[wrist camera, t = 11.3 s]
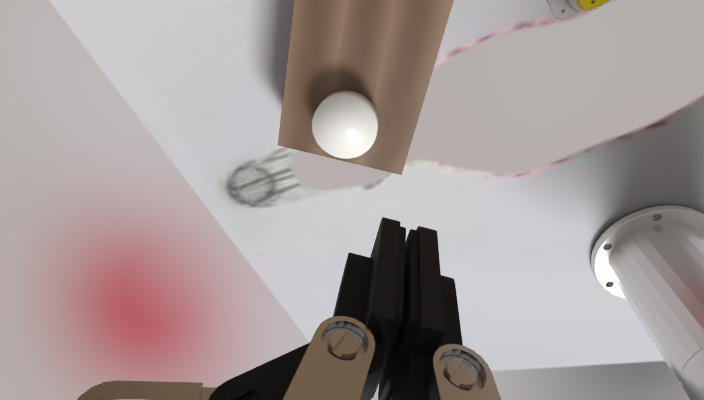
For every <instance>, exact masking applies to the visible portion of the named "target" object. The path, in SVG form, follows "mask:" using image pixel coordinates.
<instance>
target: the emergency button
mask: <svg viewBox="0 0 704 400" xmlns="http://www.w3.org/2000/svg"><path fill="white" fill-rule="evenodd" d="M607 1H609V0H547V2H548V5H549V7H550V9H551V12H552V14H553V15H554V16H555V17H556V18H559V19H565V18H568V17H570V16H572V15H574V14H576V13H577V12H579V11H581V10H591V9H595V8H597V7H599V6H601V5H602V4H604V3H606V2H607Z"/></svg>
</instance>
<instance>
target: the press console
mask: <svg viewBox="0 0 704 400" xmlns="http://www.w3.org/2000/svg"><path fill="white" fill-rule="evenodd" d="M453 1H454V0H294V8H293V17H292V26H291V34H290V43H289V52H288V60H287V69H286V78H285V87H284V95H283V104H282V113H281V121H280V130H279V139H278V145H279V146H283V147H288V148H292V149H296V150H300V151H304V152H309V153H313V154H317V155H321V156H325V157H329V158H334V159H338V160H342V161H346V162H350V163H354V164H359V165H363V166H367V167H371V168H375V169H379V170H383V171H387V172H392V173H396V174H400V175H402V171H403V168H404V165H405V161H406V158H407V155H408V151H409V147H410V144H411V141H412V138H413V134H414V131H415V128H416V124H417V121H418V118H419V114H420V111H421V108H422V104H423V101H424V98H425V94H426V91H427V87H428V84H429V81H430V78H431V74H432V71H433V68H434V64H435V61H436V57H437V54H438V51H439V47H440V44H441V41H442V37H443V34H444V31H445V27H446V24H447V21H448V17H449V14H450V11H451V7H452V4H453ZM344 90H347V91H354V92H357V93H359V94H361V95H363V96H365V97H366V98H367V99H368V100H369V101H370V102H371V103H372V104H373V106H374V107H375V109H376V112H377V115H378V121H379V124H378V131H377V136H376V139H375V141H374V143H373V145H372V146H371V148H370V149H369V150H368V151H367V152H365V153H364V154H362V155H360V156H358V157H355V158H349V159H344V158H338V157H334V156H332V155H330V154H328V153H327V152H325V151H324V150H323V149H322V148H321V147H320V146H319V145H318V143H317V142H316V140H315V138H314V135H313V131H312V120H313V116H314V113H315V111H316V110H317V108H318V107H319V105H320V103H321V102H322V101H323V100H324V99H325V98H326V97H327V96H329V95H330V94H332V93H334V92H338V91H344Z"/></svg>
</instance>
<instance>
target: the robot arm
mask: <svg viewBox="0 0 704 400" xmlns="http://www.w3.org/2000/svg"><path fill="white" fill-rule="evenodd" d="M405 239H406V228H404V227H400V221H396V220H392V219H388V218H384V217H383V218H382V220H381V223H380V226H379V230H378V233H377V237H376V240H375V243H374V247H373V250H372V254H371V257H370V258H369V257H365V256H361V255H357V254H353V253H349V254H348V258H347V261H346V265H345V269H344V273H343V277H342V281H341V285H340V289H339V293H338V298H337V302H336V306H335V311H334V315H333V317H332V318H328V319H327V320H325V321H323V322H322V323H321V324H320V325H319V327H318V328H317V330H316V332H315V334H314V336H313V338H312V340H311V342H310V343H308V344H306V345H304V346H302V347H299V348H297V349H295V350H293V351H291V352H289V353H286V354H284V355H282V356H280V357H278V358H276V359H274V360H271V361H269V362H267V363H265V364H263V365H260V366H258V367H256V368H254V369H252V370H250V371H247V372H245V373H243V374H241V375H239V376H237V377H234V378H232V379H230V380H228V381H226V382H225V383H223V384H222V385H220V386H218V387H217V388H208V387H203V383H191V382H149V381H109V382H103V383H101V384H98V385H96V386H94V387H91V388H90V389H89V390H87V391H86V392H85V393H83V394H82V395H81V396H80V397H79V398H78V399H77V400H371V398H373V396H374V394H375V392H376V389H377V386H378V384H379V392H378V399H379V400H501V398H500V395H499V392H498V389H497V387H496V384H495V381H494V378H493V375H492V372H491V370H490V368H489V366H488V364H487V363H486V362H485V361H484V360H483V358H482V357H481V356H480V355H478V354H477V353H476V352H474V351H473V350H471V349H469V348H467V347H465V346H463V345H462V337H461V329H460V321H459V312H458V304H457V296H456V288H455V282H454V279H453V278H449V277H445V276H441V275H440V263H439V251H438V239H437V231H436V230H432V229H428V228H424V227H420V226H419V227H418V228H417V230H412V229H411V230H410V231H409V234H408V237H407V240H406V243H405ZM591 268H592V271H593V273H594V276H595V277H596V279H597V280H598V282H599V284H600V285H601V286H602V287H603V288H604V289H605V290H607V291H608V292H610V293H611V294H613V295H616V296H618V297H620V298H624V299H627V301H628V303H629V304H630V306H631V307H632V309H633V310H634V312H635V314H636V315H637V317H638V318H639V320H640V322H641V323H642V325H643V326H644V328H645V329H646V331H647V333H648V334H649V336H650V337H651V339H652V340H653V342H654V344H655V345H656V347H657V348H658V350H659V352H660V353H661V355H662V356H663V358H664V359H665V361H666V363H667V364H668V366H669V367H670V369H671V371H672V372H673V374H674V375H675V377H676V378H677V380H678V382H679V383H680V385H681V386H682V388H683V389H684V391H685V392H686V394H687V396H688V397H689V398H690V400H704V214H703V213H701V212H699V211H697V210H694V209H692V208H688V207H683V206H674V205H665V206H655V207H650V208H646V209H642V210H639V211H637V212H634V213H631V214H629V215H627V216H625V217H623V218H621V219H620V220H618V221H617V222H615V223H614V224H613V225H611V226H610V227H609V228H608V229H607V230H606V231H605V232H604V233H603V234H602V235H601V236H600V238H599V239H598V241H597V242H596V244H595V246H594V249H593V251H592V256H591Z"/></svg>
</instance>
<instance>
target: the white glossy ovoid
mask: <svg viewBox="0 0 704 400" xmlns="http://www.w3.org/2000/svg"><path fill="white" fill-rule="evenodd" d="M378 124H379V121H378V115H377V112H376V109H375V107H374V106H373V104H372V103H371V102H370V101H369V100H368V99H367V98H366V97H365V96H363V95H361V94H359V93H357V92H354V91H347V90H344V91H338V92H334V93H332V94H330V95H329V96H327V97H326V98H325V99H324V100H323V101H322V102H321V103H320V105H319V107H318V108H317V110H316V111H315V113H314V116H313V120H312V131H313V135H314V138H315V140H316V142H317V143H318V145H319V146H320V147H321V148H322V149H323V150H324V151H325V152H327V153H328V154H330V155H332V156H334V157H338V158H344V159H349V158H355V157H358V156H360V155H362V154H364V153H365V152H367V151H368V150H369V149H370V148H371V146H372V145H373V143H374V141H375V139H376V136H377V131H378Z"/></svg>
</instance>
